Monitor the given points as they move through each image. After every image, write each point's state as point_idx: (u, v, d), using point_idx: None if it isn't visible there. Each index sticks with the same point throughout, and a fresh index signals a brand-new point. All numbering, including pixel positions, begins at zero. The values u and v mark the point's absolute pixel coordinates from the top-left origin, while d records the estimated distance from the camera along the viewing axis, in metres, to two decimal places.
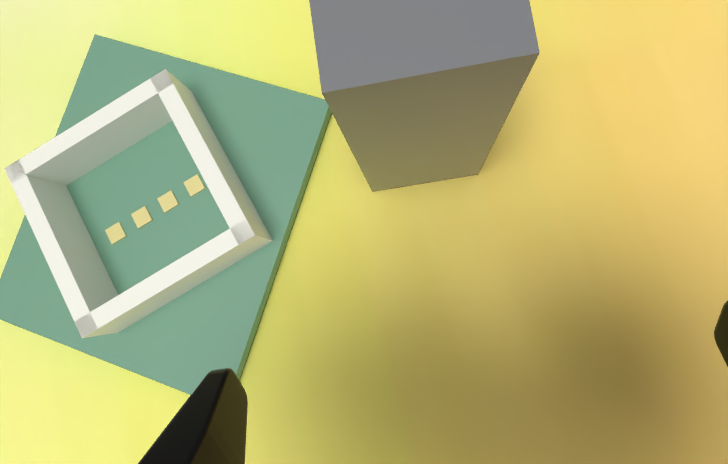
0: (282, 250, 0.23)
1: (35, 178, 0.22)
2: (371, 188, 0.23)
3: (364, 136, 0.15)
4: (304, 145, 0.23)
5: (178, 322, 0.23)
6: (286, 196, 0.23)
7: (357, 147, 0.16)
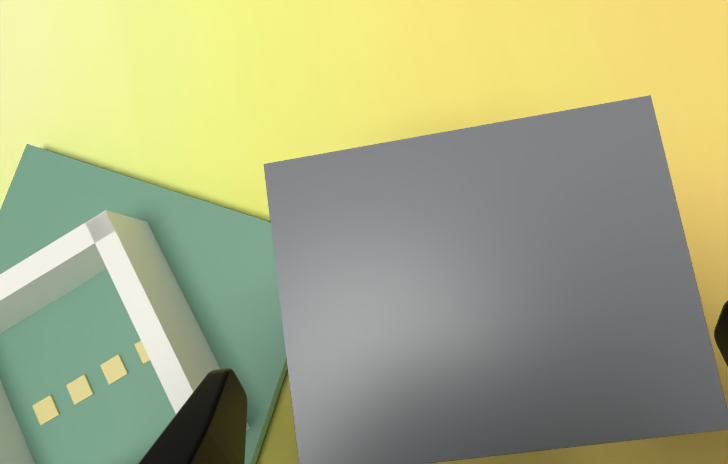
0: (262, 436, 0.18)
1: None
2: None
3: None
4: None
5: None
6: (268, 367, 0.17)
7: None
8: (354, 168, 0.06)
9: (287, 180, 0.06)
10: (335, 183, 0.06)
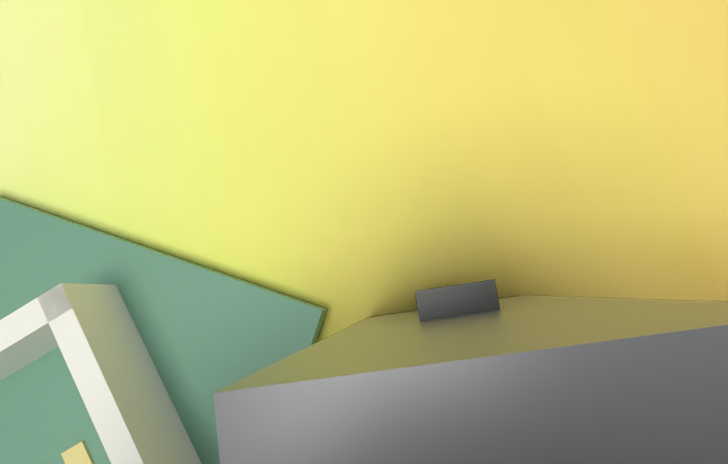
0: None
1: None
2: None
3: None
4: None
5: None
6: None
7: None
8: (361, 408, 0.04)
9: (251, 423, 0.04)
10: (329, 433, 0.04)
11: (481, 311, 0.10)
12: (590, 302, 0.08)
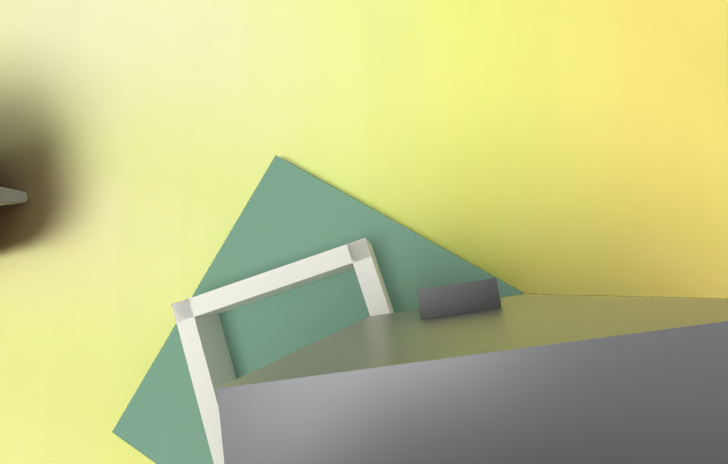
0: None
1: (199, 316, 0.21)
2: None
3: None
4: None
5: None
6: None
7: None
8: (365, 404, 0.04)
9: (255, 418, 0.04)
10: (333, 428, 0.04)
11: (483, 309, 0.10)
12: (592, 300, 0.08)
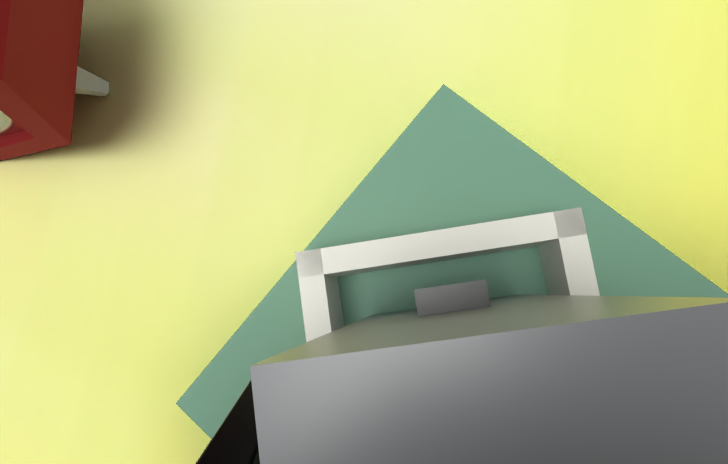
0: None
1: (325, 275, 0.15)
2: None
3: None
4: None
5: None
6: None
7: None
8: (366, 378, 0.05)
9: (280, 389, 0.05)
10: (342, 397, 0.05)
11: (473, 308, 0.11)
12: (568, 299, 0.09)
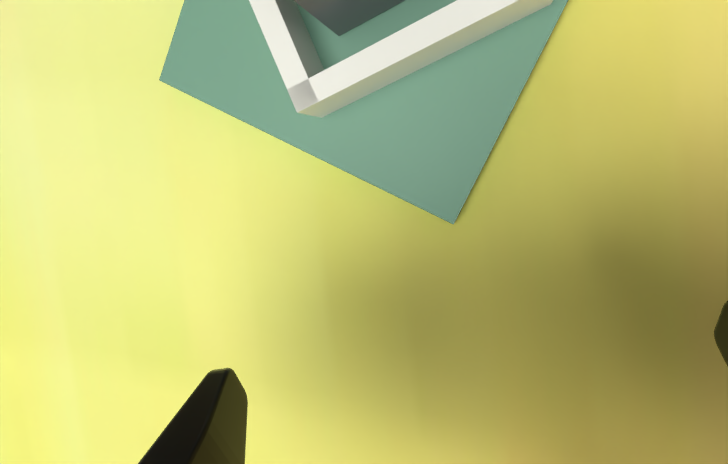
0: None
1: None
2: (333, 30, 0.17)
3: None
4: None
5: (401, 111, 0.17)
6: None
7: None
8: None
9: None
10: None
11: None
12: None
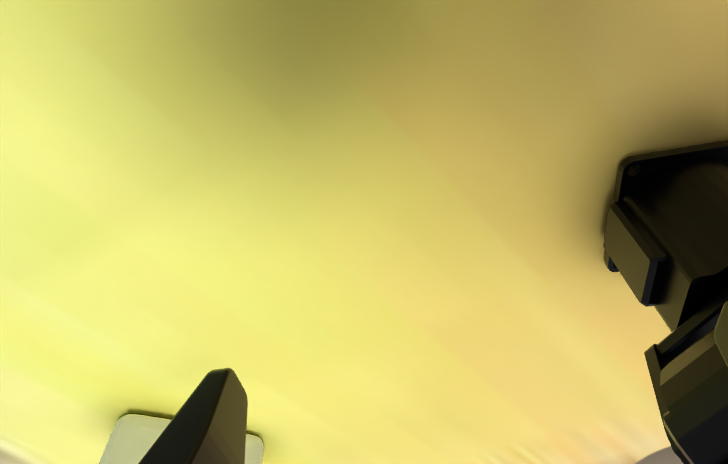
0: None
1: None
2: None
3: None
4: None
5: None
6: None
7: None
8: None
9: None
10: None
11: None
12: None
